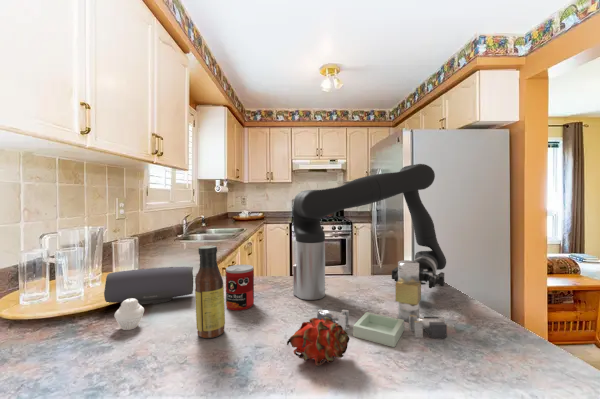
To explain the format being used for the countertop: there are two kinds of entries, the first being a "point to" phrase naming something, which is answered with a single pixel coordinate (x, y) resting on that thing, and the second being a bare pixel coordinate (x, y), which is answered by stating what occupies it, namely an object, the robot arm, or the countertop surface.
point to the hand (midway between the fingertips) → (413, 282)
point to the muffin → (129, 314)
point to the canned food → (239, 287)
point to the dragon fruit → (320, 340)
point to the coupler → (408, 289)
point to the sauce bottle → (209, 295)
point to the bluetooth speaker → (149, 284)
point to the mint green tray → (379, 329)
